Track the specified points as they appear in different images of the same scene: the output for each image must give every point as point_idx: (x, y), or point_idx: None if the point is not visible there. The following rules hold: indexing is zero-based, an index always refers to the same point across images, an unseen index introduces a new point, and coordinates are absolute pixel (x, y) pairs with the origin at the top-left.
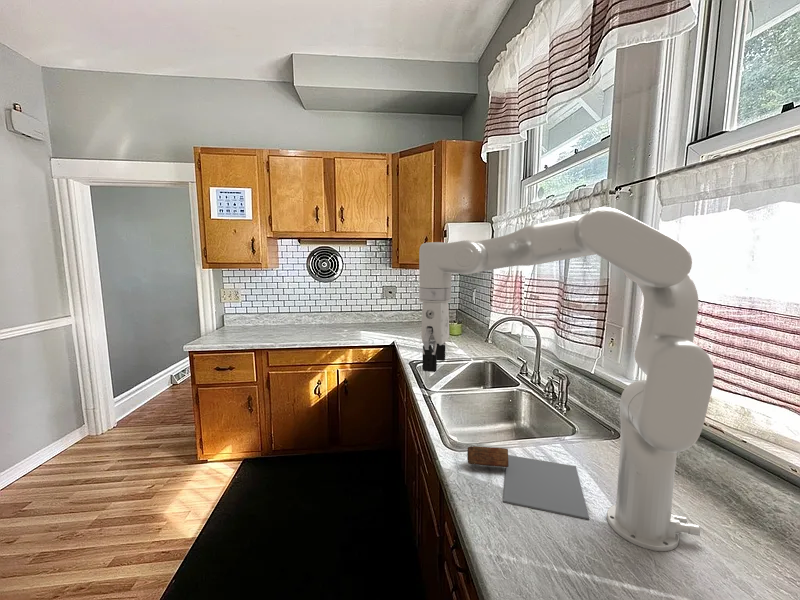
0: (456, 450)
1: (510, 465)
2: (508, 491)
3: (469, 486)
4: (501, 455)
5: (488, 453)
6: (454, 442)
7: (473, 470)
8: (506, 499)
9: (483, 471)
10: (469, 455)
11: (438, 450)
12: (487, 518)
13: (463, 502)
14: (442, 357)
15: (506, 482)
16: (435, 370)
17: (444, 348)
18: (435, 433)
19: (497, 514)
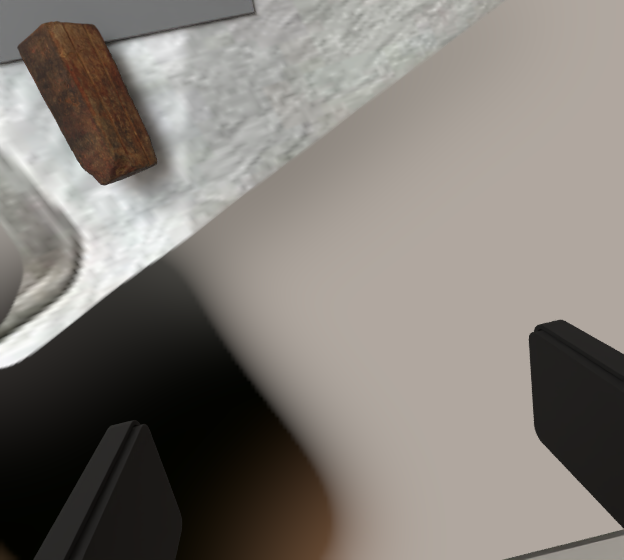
0: (75, 239)
1: None
2: (202, 7)
3: (237, 130)
4: (80, 48)
5: (101, 97)
6: (30, 265)
7: None
8: (244, 3)
9: None
10: (143, 162)
11: (114, 288)
12: (341, 38)
13: (313, 120)
14: (142, 458)
15: (160, 24)
16: (564, 327)
17: (80, 537)
18: (18, 345)
19: (313, 16)
